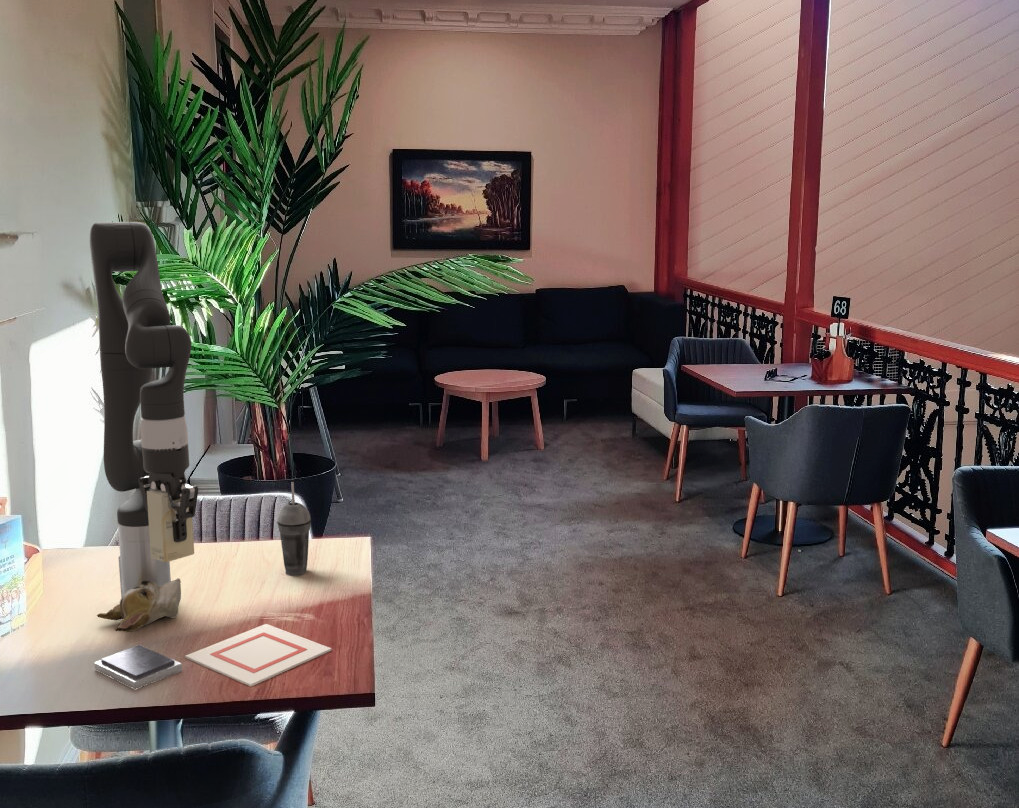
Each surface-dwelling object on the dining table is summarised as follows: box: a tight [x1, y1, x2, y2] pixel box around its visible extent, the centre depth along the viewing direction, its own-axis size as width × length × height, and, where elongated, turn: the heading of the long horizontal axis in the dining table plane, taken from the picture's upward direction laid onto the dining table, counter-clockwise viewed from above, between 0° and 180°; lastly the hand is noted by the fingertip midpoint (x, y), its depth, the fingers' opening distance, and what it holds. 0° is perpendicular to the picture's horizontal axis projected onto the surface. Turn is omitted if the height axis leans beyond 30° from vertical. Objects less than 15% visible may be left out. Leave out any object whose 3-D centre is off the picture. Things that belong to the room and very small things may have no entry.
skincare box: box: [147, 490, 195, 562], centre depth 178 cm, size 6×4×12 cm
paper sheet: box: [184, 623, 332, 687], centre depth 183 cm, size 18×18×1 cm
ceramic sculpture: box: [96, 577, 182, 633], centre depth 196 cm, size 11×9×15 cm
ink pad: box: [93, 644, 183, 690], centre depth 176 cm, size 12×9×2 cm
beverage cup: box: [276, 481, 312, 577], centre depth 222 cm, size 7×7×20 cm
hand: (171, 538), depth 179 cm, fingers closed on skincare box, 4 cm apart
